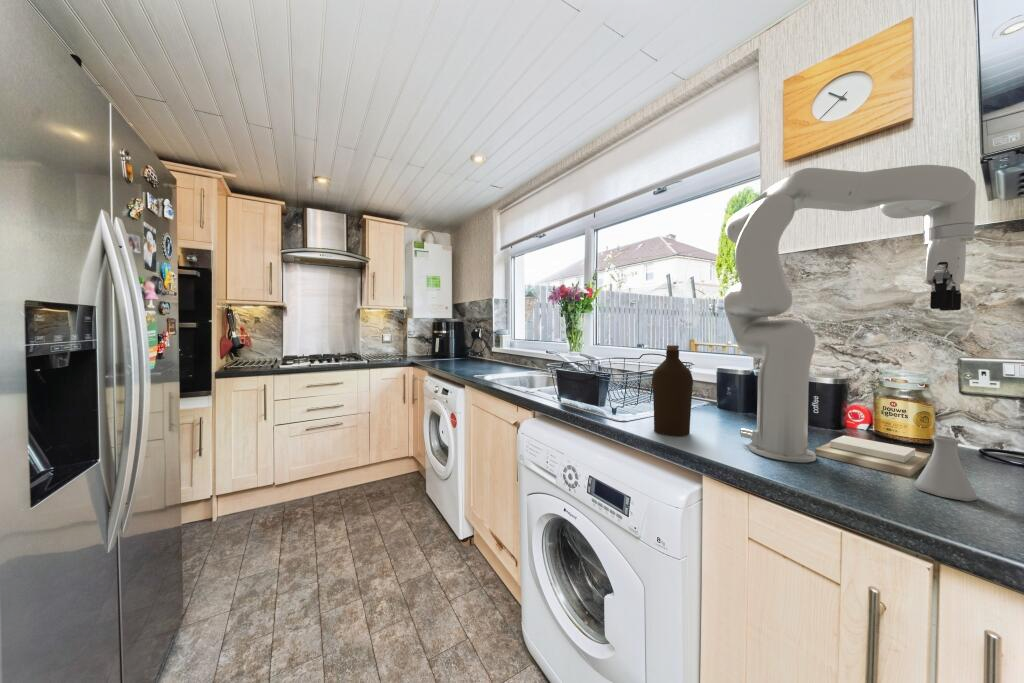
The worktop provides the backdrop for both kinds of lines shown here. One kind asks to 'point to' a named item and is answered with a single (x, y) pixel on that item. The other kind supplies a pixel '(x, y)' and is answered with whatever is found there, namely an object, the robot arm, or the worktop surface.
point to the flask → (946, 472)
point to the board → (876, 460)
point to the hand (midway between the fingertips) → (945, 309)
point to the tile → (873, 448)
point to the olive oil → (672, 395)
